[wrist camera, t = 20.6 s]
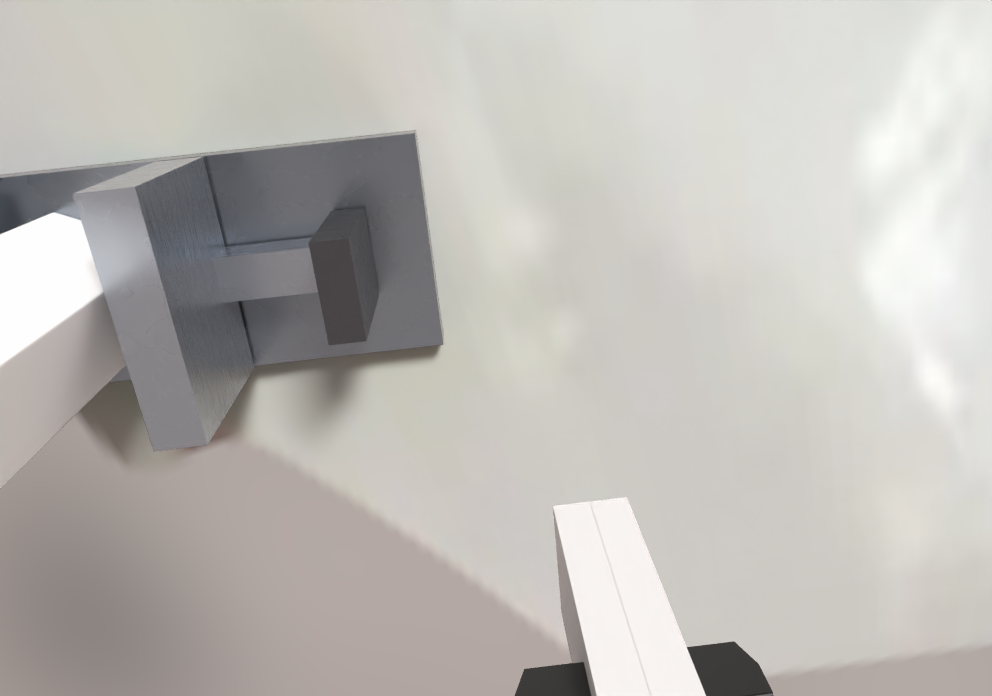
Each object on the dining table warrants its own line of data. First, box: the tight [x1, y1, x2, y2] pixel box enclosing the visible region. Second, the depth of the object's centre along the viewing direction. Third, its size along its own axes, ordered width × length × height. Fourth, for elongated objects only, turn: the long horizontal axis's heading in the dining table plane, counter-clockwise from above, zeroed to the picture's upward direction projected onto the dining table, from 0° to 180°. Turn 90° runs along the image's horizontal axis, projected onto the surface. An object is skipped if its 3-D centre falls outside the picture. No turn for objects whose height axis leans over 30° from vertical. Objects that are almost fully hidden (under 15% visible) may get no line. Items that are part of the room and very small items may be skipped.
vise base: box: [0, 130, 443, 382], centre depth 37 cm, size 12×25×10 cm, turn 96°
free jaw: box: [73, 157, 379, 451], centre depth 36 cm, size 12×11×9 cm
